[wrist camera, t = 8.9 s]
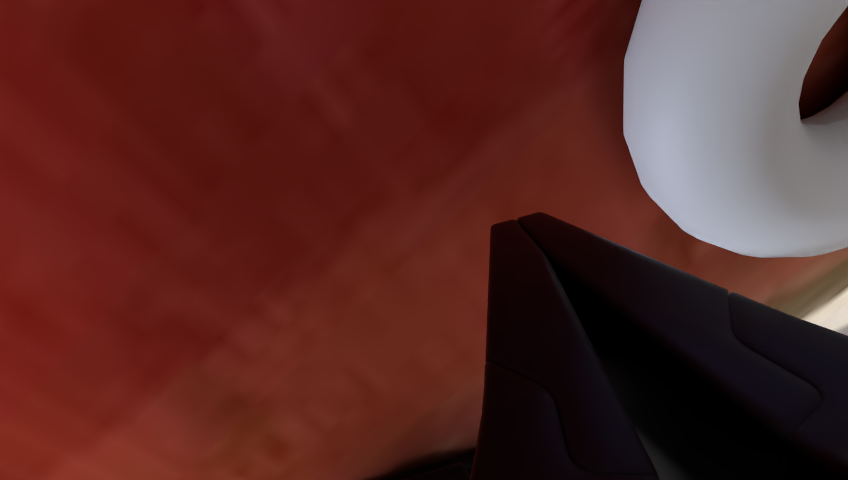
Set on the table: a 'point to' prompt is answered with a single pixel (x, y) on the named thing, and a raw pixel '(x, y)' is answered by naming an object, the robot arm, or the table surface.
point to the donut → (738, 124)
